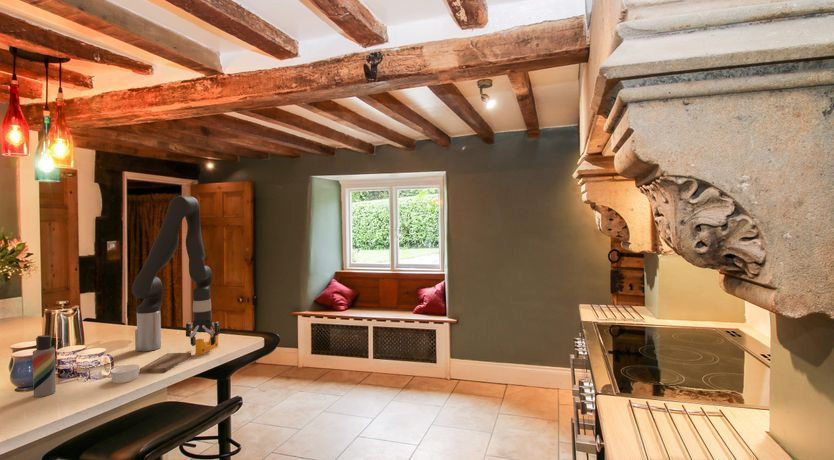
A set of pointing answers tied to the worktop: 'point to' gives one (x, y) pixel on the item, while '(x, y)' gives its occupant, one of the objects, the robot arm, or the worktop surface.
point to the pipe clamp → (205, 345)
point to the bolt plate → (165, 362)
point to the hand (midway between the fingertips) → (203, 345)
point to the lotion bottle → (44, 367)
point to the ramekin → (124, 373)
